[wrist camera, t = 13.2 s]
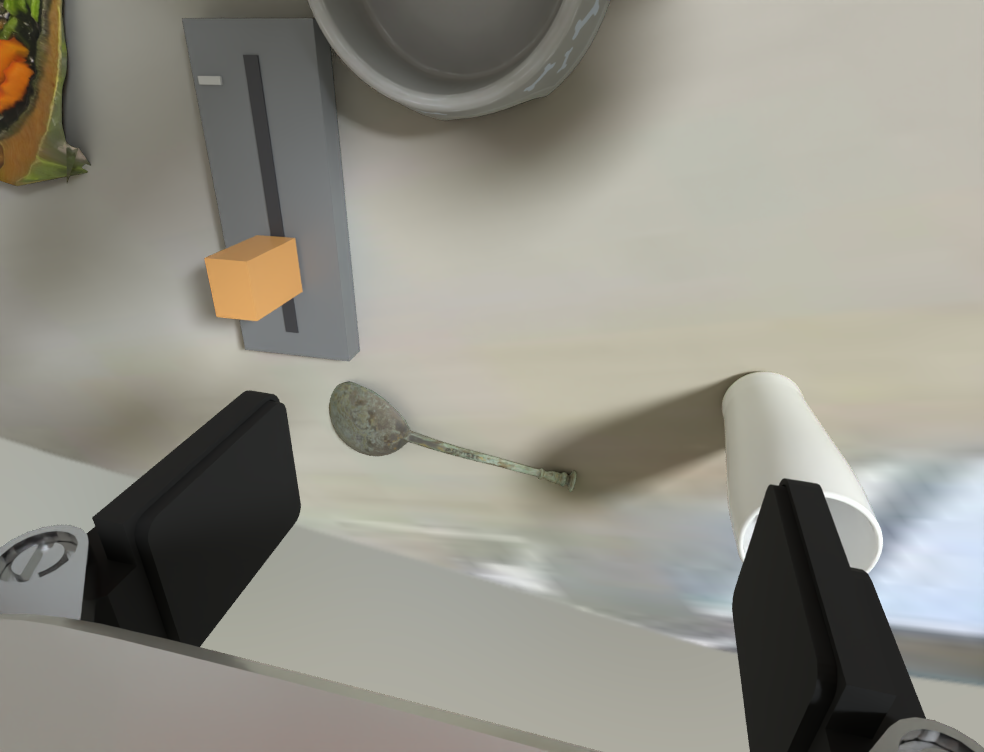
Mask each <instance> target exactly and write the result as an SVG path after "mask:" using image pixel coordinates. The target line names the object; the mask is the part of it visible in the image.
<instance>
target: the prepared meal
mask: <svg viewBox="0 0 984 752" xmlns="http://www.w3.org/2000/svg"><path fill="white" fill-rule="evenodd" d="M66 72H67V49H66V43H65V36H64V26H63V18H62V0H0V181H3V182H6V183H9V184H12V185H15V186H21V185H26V184H31V183H36V182H42V181H47V180H52V179H57V178H62V177H67V183H68V179H69V176H73V175H78V174H82V173H87V171H86V170H85V169H83V168H82V166H83V165H84V164H88V165H90V163H89V162H88V161H87V159H86V158H85V156H84V155H83V153H82V152H81V151H80V149H79V148H75V147H71V146H70V145H69V144H67V143H66V140H65V136H64V131H63V127H62V87H63V83H64V80H65V77H66ZM90 166H91V165H90Z"/></svg>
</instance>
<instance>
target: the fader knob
mask: <svg viewBox="0 0 984 752" xmlns="http://www.w3.org/2000/svg"><path fill="white" fill-rule="evenodd" d="M204 259H205V264H206V269H207V273H208V278H209V283H210V288H211V292H212V297H213V302H214V307H215V311H216V316H217V317H222V318H231V319H241V320H250V321H258V320H260V319H261V318H263V317H265V316H266V315H268V314H269V313H271V312H272V311H274V310H275V309H277V308H278V307H280V306H281V305H283V304H284V303H286V302H287V301H289V300H291V299H292V298H294V297H295V296H297V295H298V294H300V293H301V292H303V291H302V284H301V276H300V269H299V262H298V254H297V247H296V240H295V238H290V237H276V236H263V235H256V236H254V237H252V238H249V239H247V240H245V241H242V242H240V243H238V244H236V245H233V246H231V247H229V248H226V249H224V250H222V251H219V252H217V253H215V254H212V255H210V256H208V257H206V258H204Z"/></svg>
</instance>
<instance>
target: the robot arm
mask: <svg viewBox="0 0 984 752" xmlns="http://www.w3.org/2000/svg"><path fill="white" fill-rule="evenodd" d="M300 508H301V503H300V496H299V490H298V483H297V477H296V470H295V464H294V457H293V451H292V445H291V438H290V432H289V425H288V419H287V412H286V408H285V406H284V404H283V403H280V402H279V399H278V398H277V396H276V395H274V394H268V393H262V392H256V391H245V392H243V393H242V394H241V395H240V396H238V397H237V398H236V399H235V400H234V401H232V402H231V403H230V404H229V405H227V406H226V407H225V408H224V409H223V410H221V411H220V412H219V413H218V414H217V415H215V416H214V417H213V418H212V419H211V420H209V421H208V422H207V423H206V424H205V425H203V426H202V427H201V428H200V429H199V430H197V431H196V432H195V433H194V434H192V435H191V436H190V437H189V438H188V439H186V440H185V441H184V442H183V443H182V444H180V445H179V446H178V447H177V448H176V449H174V450H173V451H172V452H171V453H170V454H168V455H167V456H166V457H165V458H164V459H162V460H161V461H160V462H159V463H157V464H156V465H155V466H154V467H153V468H151V469H150V470H149V471H148V472H147V473H145V474H144V475H143V476H142V477H141V478H139V479H138V480H137V481H136V482H135V483H133V484H132V485H131V486H130V487H129V488H127V489H126V490H125V491H124V492H123V493H121V494H120V495H119V496H118V497H117V498H115V499H114V500H113V501H112V502H110V503H109V504H108V505H107V506H106V507H105V508H103V509H102V510H101V511H100V512H98V513H97V514H96V515H95V516H94V517H93V518H92V519H93V521H94V524H95V527H94V528H93V529H92V530H91V531H89V532H88V533H87V534H86V533H85V532H84V531H83V530H82V529H81V528H78V527H75V526H71V525H54V526H47V527H42V528H39V529H36V530H33V531H30V532H27V533H25V534H23V535H21V536H18V537H17V538H14V539H12V540H11V541H9V542H8V543H6V544H5V545H3V546H2V547H0V752H601V751H597V750H594V749H590V748H586V747H582V746H579V745H574V744H571V743H567V742H563V741H560V740H556V739H552V738H548V737H545V736H540V735H537V734H533V733H529V732H525V731H522V730H518V729H514V728H511V727H507V726H503V725H499V724H496V723H491V722H488V721H484V720H480V719H477V718H473V717H469V716H465V715H461V714H458V713H454V712H450V711H446V710H442V709H439V708H435V707H431V706H427V705H423V704H419V703H416V702H412V701H407V700H404V699H400V698H396V697H392V696H388V695H385V694H381V693H377V692H373V691H369V690H365V689H361V688H358V687H354V686H350V685H346V684H342V683H338V682H334V681H331V680H327V679H323V678H319V677H315V676H311V675H307V674H303V673H299V672H296V671H291V670H288V669H284V668H280V667H276V666H272V665H268V664H264V663H260V662H256V661H252V660H248V659H244V658H240V657H236V656H232V655H228V654H225V653H220V652H217V651H213V650H208V649H205V648H201V647H200V646H201V645H202V643H203V642H204V641H205V639H206V638H207V637H208V636H209V634H210V633H211V632H212V631H213V629H214V628H215V627H216V625H217V624H218V623H219V621H220V620H221V619H222V617H223V616H224V615H225V614H226V612H227V611H228V610H229V608H230V607H231V606H232V604H233V603H234V602H235V600H236V599H237V598H238V597H239V595H240V594H241V592H242V591H243V590H244V589H245V588H246V586H247V585H248V584H249V582H250V581H251V580H252V578H253V577H254V576H255V575H256V573H257V572H258V570H259V569H260V568H261V567H262V565H263V564H264V563H265V561H266V560H267V559H268V558H269V556H270V555H271V554H272V552H273V551H274V549H275V548H276V547H277V546H278V545H279V543H280V542H281V541H282V539H283V538H284V537H285V535H286V534H287V533H288V531H289V530H290V529H291V528H292V526H293V525H294V524H295V522H296V521H297V519H298V517H299V513H300ZM732 612H733V621H734V629H735V637H736V645H737V653H738V660H739V668H740V676H741V684H742V692H743V699H744V708H745V716H746V724H747V732H748V740H749V747H750V752H984V748H983V747H982V746H981V745H979V744H978V743H977V742H976V741H974V740H973V739H971V738H970V737H968V736H966V735H965V734H963V733H961V732H960V731H958V730H956V729H955V728H952V727H950V726H947V725H945V724H942V723H940V722H937V721H935V720H930V719H926V717H925V715H924V712H923V710H922V707H921V705H920V702H919V700H918V697H917V695H916V692H915V689H914V687H913V684H912V682H911V679H910V677H909V674H908V672H907V669H906V667H905V664H904V661H903V659H902V656H901V654H900V651H899V649H898V646H897V644H896V641H895V639H894V636H893V633H892V631H891V628H890V626H889V623H888V621H887V618H886V616H885V613H884V611H883V608H882V606H881V603H880V600H879V598H878V595H877V593H876V590H875V588H874V585H873V583H872V580H871V579H870V577H869V575H868V573H867V572H865V571H864V570H863V569H858V568H852V567H850V565H849V562H848V559H847V557H846V554H845V551H844V548H843V545H842V543H841V540H840V537H839V534H838V532H837V529H836V526H835V523H834V521H833V518H832V515H831V512H830V510H829V507H828V504H827V501H826V499H825V496H824V493H823V490H822V488H821V486H820V485H819V484H817V483H811V482H805V481H799V480H793V479H787V478H784V479H782V480H781V482H780V483H779V486H778V485H772V484H770V485H769V486H768V487H767V490H766V493H765V496H764V499H763V502H762V505H761V508H760V512H759V515H758V518H757V521H756V524H755V527H754V531H753V534H752V537H751V540H750V543H749V546H748V549H747V553H746V556H745V559H744V562H743V565H742V568H741V571H740V575H739V578H738V581H737V584H736V587H735V590H734V595H733V603H732Z"/></svg>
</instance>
